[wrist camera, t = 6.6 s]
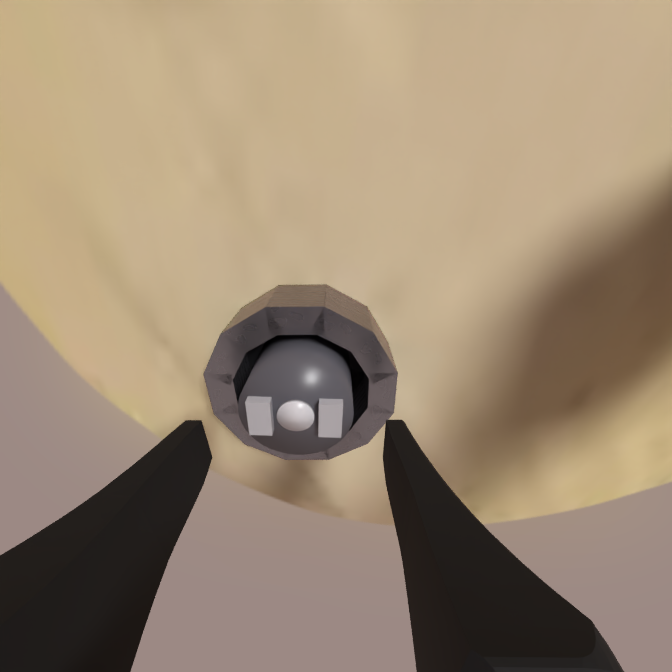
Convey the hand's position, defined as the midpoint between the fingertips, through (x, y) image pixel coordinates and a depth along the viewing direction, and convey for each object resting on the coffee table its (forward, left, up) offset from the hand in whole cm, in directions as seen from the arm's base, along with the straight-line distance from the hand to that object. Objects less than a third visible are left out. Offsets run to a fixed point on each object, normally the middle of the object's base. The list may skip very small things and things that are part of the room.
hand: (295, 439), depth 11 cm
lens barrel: (0, 0, -6) cm, 6 cm away
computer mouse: (0, 0, -5) cm, 5 cm away
